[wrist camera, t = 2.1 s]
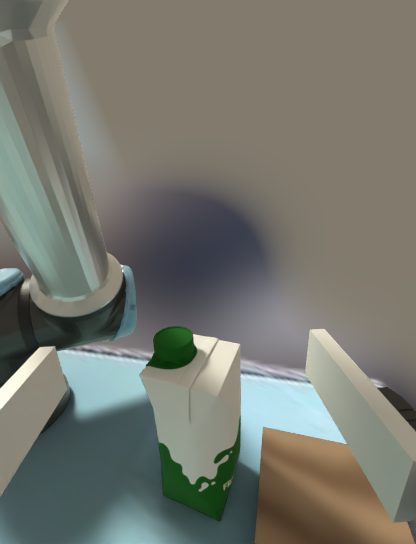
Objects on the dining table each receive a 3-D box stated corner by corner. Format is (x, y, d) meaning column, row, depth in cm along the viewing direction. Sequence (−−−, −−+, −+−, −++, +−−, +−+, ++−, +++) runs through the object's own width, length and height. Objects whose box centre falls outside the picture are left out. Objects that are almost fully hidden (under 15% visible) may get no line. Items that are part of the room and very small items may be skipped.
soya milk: (185, 433, 37) (173, 312, 30) (246, 455, 34) (248, 324, 27) (151, 501, 29) (125, 358, 22) (226, 537, 26) (222, 383, 19)
